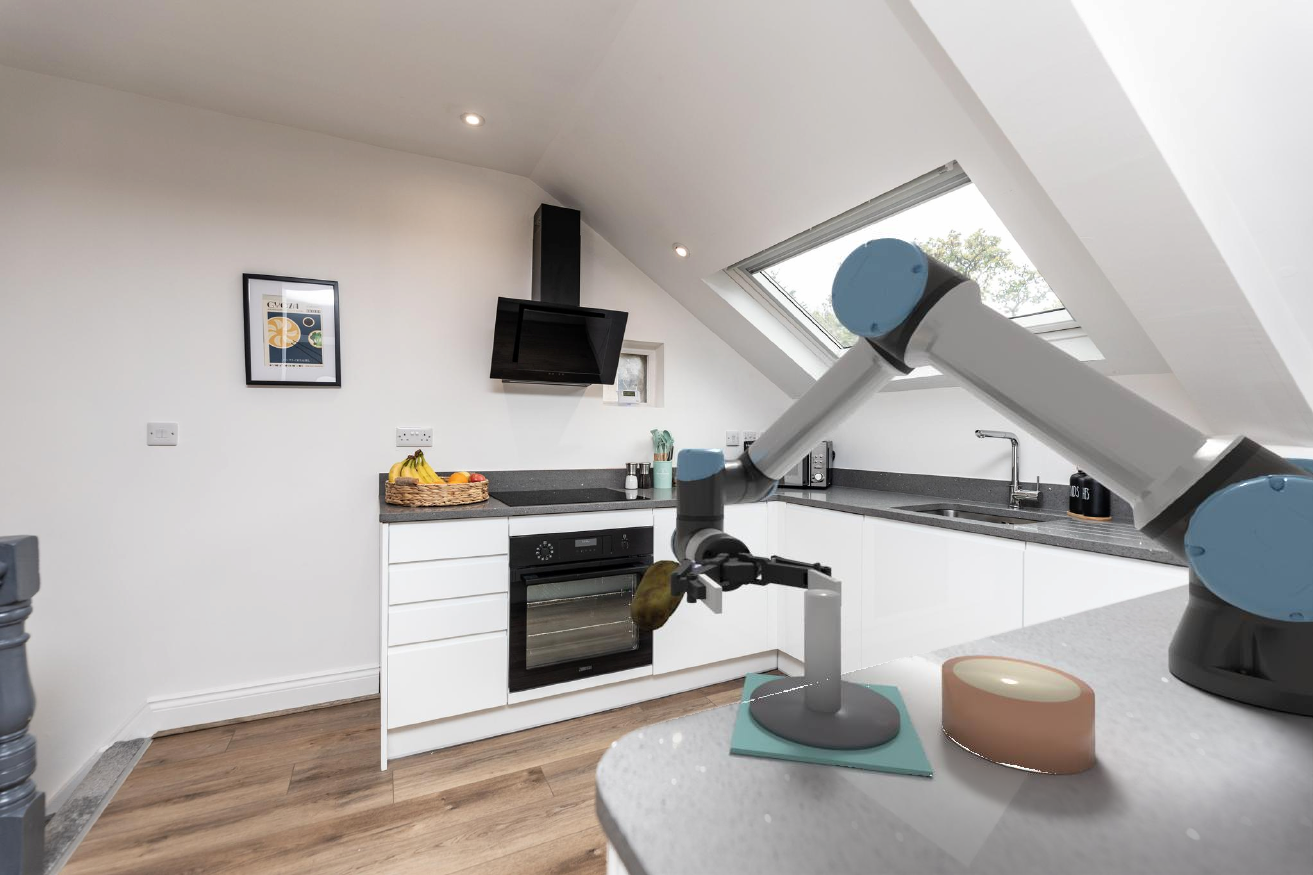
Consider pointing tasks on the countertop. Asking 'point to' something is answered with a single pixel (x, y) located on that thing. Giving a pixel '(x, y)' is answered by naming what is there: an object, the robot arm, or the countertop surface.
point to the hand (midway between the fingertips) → (780, 597)
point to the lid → (824, 691)
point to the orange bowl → (1019, 713)
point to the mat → (890, 757)
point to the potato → (655, 597)
